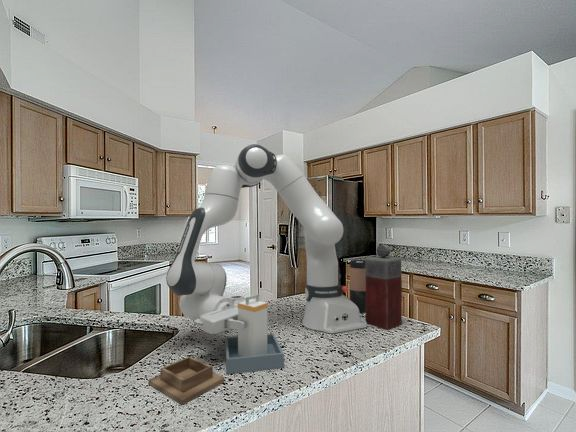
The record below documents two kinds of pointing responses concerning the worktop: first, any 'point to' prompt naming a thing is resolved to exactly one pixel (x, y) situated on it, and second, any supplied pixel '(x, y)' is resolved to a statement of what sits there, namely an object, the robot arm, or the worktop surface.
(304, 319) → the robot arm
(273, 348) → the tray
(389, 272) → the red square storage jar
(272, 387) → the worktop surface
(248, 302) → the tall lidded canister
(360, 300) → the travel mug
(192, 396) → the dock
